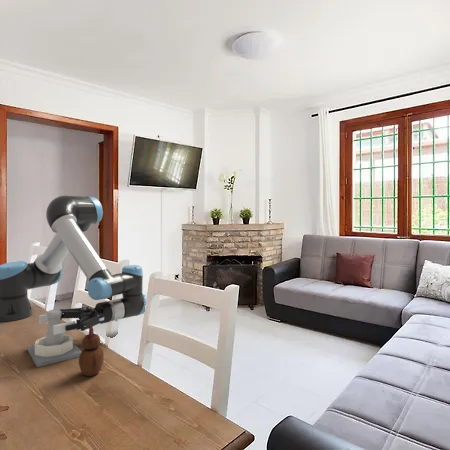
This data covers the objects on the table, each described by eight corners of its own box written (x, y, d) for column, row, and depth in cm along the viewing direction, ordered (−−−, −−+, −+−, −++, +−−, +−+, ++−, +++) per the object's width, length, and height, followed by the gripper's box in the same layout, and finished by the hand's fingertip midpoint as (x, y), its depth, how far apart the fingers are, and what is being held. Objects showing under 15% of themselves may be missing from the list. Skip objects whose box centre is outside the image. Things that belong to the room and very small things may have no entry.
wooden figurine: (93, 380, 95) (93, 326, 94) (75, 377, 96) (75, 325, 95) (107, 368, 101) (106, 319, 100) (89, 366, 102) (89, 317, 102)
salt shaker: (57, 353, 108) (56, 313, 108) (40, 352, 109) (40, 312, 109) (67, 346, 114) (67, 308, 114) (51, 345, 115) (51, 307, 114)
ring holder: (54, 340, 119) (54, 332, 119) (80, 345, 115) (79, 336, 115) (27, 353, 108) (26, 344, 108) (54, 358, 105) (53, 349, 105)
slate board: (27, 349, 114) (27, 346, 114) (68, 340, 122) (68, 337, 122) (37, 367, 102) (36, 363, 101) (82, 355, 110) (82, 352, 110)
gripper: (125, 330, 116) (60, 347, 101) (94, 313, 134) (34, 326, 119) (125, 308, 116) (60, 322, 101) (94, 294, 133) (34, 305, 118)
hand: (46, 324), depth 110 cm, fingers open, 13 cm apart
